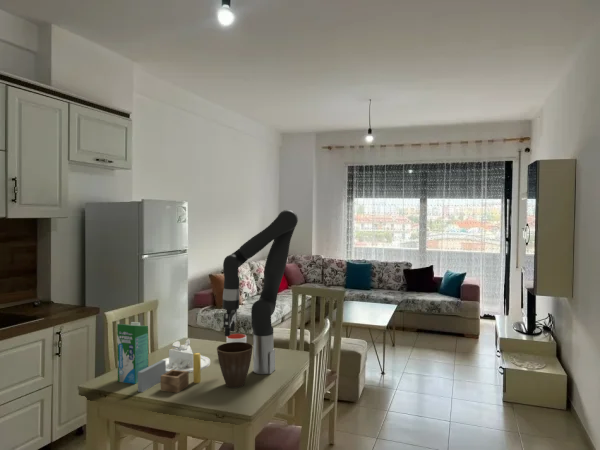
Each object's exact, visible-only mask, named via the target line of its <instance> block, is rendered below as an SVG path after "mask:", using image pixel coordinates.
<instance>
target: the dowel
mask: <svg viewBox="0 0 600 450" xmlns="http://www.w3.org/2000/svg"><path fill="white" fill-rule="evenodd" d="M200 355H201V352H194V353H193V372H192V374H193V375H192V378H193V383H194V384H199V383H201V379H202V378H201V376H202V375H201V371H202V370H201V358H200Z"/></svg>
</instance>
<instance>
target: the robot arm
mask: <svg viewBox="0 0 600 450" xmlns="http://www.w3.org/2000/svg"><path fill="white" fill-rule="evenodd" d="M298 221H299V218H298V215H297V214H296V212H295V211H293V210H292V209H283V210H282V211H280V213H279V214H278V215H277V217H275V219H273V220H272V222H271V223H270V224H269V225H267V227H265V228H264V229H263V230H261V231H260V232H258V233H257V234H255V235H253V236H252V237H251V238H250V239H248V240H247V241H246V242H244V243H243V244H241V246H240V247H239V248H238V249H237V250H235V251H233V252H232V253H231V254H229V255H227V256H226V257H225V258H224V260H223V263H222V264H223V265H222V267H223V268H222V270H223V279H224V280H223V292H222V309H223V310H226V312H225V313H224V314H223V328H224V337H227V336H230V335H231V332H235V331H236V322H237V321H238V319H237V318H238V310H239V308H240V300H241V299H240V295H241V294H240V284H241V283H240V277H239V268H240V267H241V266H243V264H245V263H246V262H247V261H248V260H249V259H251V258H252V257H254V256H255V255H257V254H258V253H259V252H261V251H262V250H263V249H264V248H266V246H267V245H269V244H270V243H271V242H272V244H271V245H270V248H269V251H268V254H267V257H266V260H265V264H264V269H263V287H262V291H261V294H260V296H259V299H258V300H255V301H254V302H253V304H252V306H251V310H250V311H251V312H250V313H251V314H250V315H251V319H250V320H251V329H252V331H253V332H252V334H253V338H252V339H253V340H252V341H253V342H252V346H253V348H252V355H253V356H252V357H253V364H252V365H253V367H252V368H253V373H255V374H257V375H271V374H272V373H273V372H274V371H276V349H274V327H273V325H272V315H273V314H274V313H275V310H276V305H277V298H278V292H279V290H280V289H279V288H280V287H281V283H282V280H283V277H284V273H285V269H286V265H287V262H288V257H289V253H290V245H291V239H292V237H293V234H294V231H295V228H296V227H297V225H298Z"/></svg>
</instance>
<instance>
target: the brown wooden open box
mask: <svg viewBox="0 0 600 450" xmlns="http://www.w3.org/2000/svg"><path fill="white" fill-rule="evenodd" d="M189 374H190V373H189V371H181V370H173V369H172V370H170V371H168V372H167V373H165V374H163V375H161V382H160V391H161V390H163V391H162V392H169V393H180V392H182V390H184V389H186V388H188V387H189V385H190V383H189V381H190V380H189V377H190V375H189Z"/></svg>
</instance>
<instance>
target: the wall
mask: <svg viewBox="0 0 600 450" xmlns="http://www.w3.org/2000/svg"><path fill="white" fill-rule="evenodd" d="M165 373H166V361H165V360H163V359H161V360H159V361H157V362H155V363H153V364H151V365H148V367H147V368H145V369H143V370H141V371H139V372H138V383H137V392H139V393H144V392H145V391H146V390H148V388H149V389H150V388H152V387H154V386H155V385H158V384H159V383H161V375H163V374H165Z"/></svg>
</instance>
